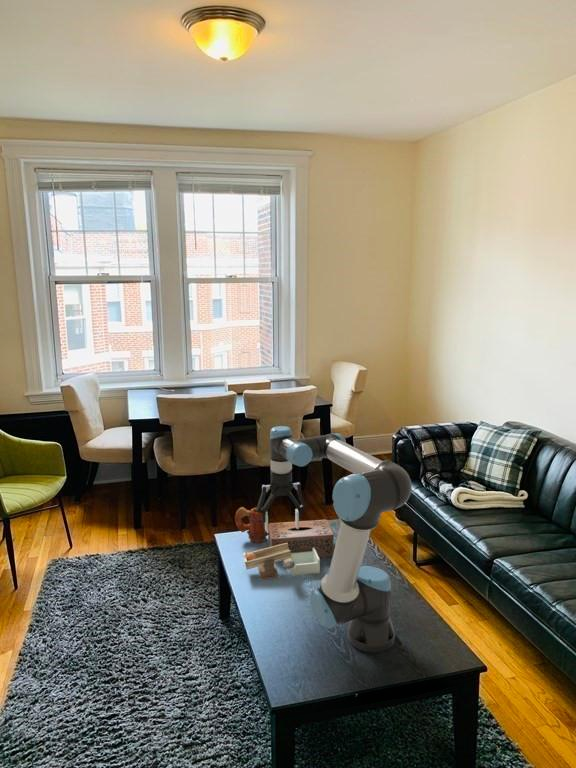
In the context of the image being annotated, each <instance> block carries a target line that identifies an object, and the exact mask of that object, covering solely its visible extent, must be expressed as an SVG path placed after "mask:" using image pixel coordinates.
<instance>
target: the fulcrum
mask: <svg viewBox="0 0 576 768" xmlns="http://www.w3.org/2000/svg"><path fill="white" fill-rule="evenodd" d="M257 571H258V572H259V578H260V581H265V580H275V579H280V576H279V573H278V570H277V567H276V562H274V560H268V561H265V565H263V566H259V567H257Z"/></svg>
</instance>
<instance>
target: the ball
mask: <svg viewBox="0 0 576 768" xmlns="http://www.w3.org/2000/svg"><path fill="white" fill-rule="evenodd" d="M247 553H248V554H247V556H246V559H247V561H250V560H254V559H255V555H254V554H253V553H249V552H247Z"/></svg>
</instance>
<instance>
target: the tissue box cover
mask: <svg viewBox="0 0 576 768" xmlns="http://www.w3.org/2000/svg"><path fill="white" fill-rule="evenodd" d="M267 533H268V536H267V538H268V539H267V540H268V547H272V546H276V545H280V544H284V543H288V548H289V550H290V551H291V553H299V552H309V551H312V548H315V550H316V552H317V555H318V557H319V558H328V557H333V553H334V549H335V545H334V544H335V543H334V541H335V539H334V537H335V536H334V532H333V531H332V529H331V526H330V524H329V521H328V520H327V519H317V520H299V529H296V526H295V521H285V522H284V521H283V522H271V523H270V522H268V532H267Z"/></svg>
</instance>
